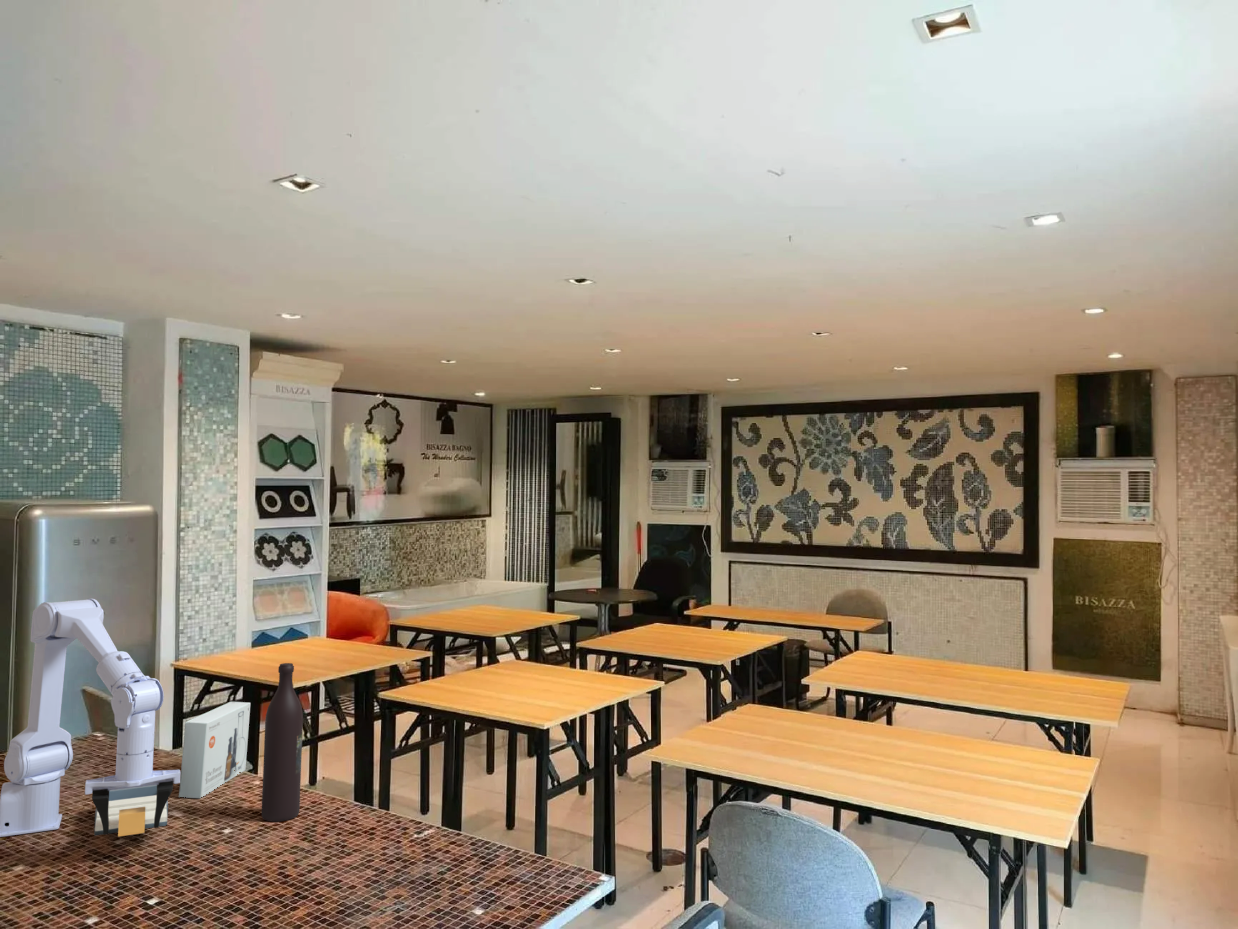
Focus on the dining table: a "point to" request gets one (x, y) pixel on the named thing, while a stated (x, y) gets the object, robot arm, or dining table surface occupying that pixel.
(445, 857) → the dining table surface
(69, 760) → the robot arm
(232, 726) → the skincare box
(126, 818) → the lid
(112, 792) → the tub
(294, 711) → the wine bottle
